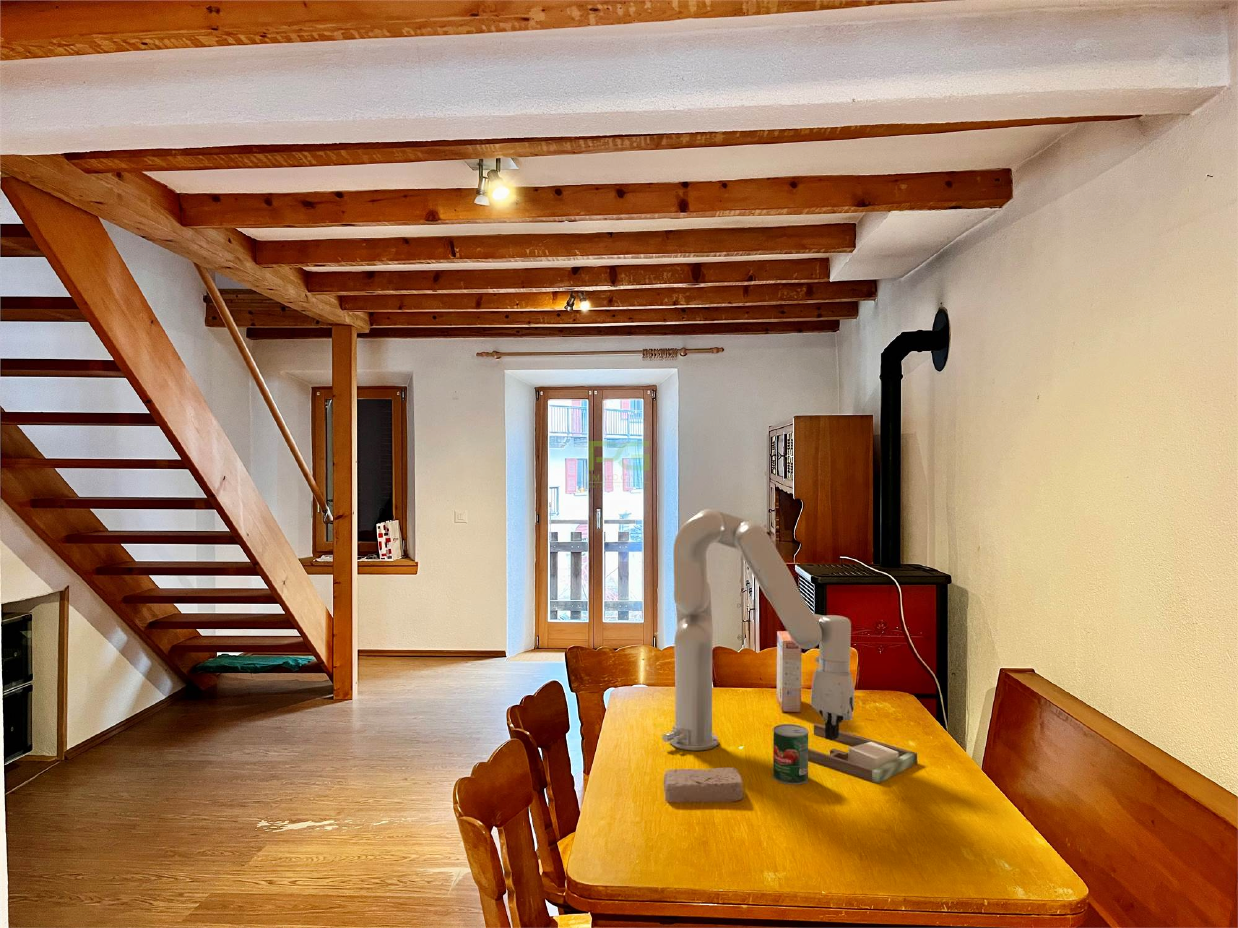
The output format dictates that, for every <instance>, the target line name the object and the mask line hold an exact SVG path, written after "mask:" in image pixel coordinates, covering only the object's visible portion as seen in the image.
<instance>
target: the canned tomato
mask: <svg viewBox="0 0 1238 928" xmlns="http://www.w3.org/2000/svg"><path fill="white" fill-rule="evenodd" d="M772 731H773V734H772V736H773V742H772V743H773V747H772V748H773V749H772V751H773V754H772V755H773V764H772V766H773V767H772V769H773V770H772V771H773V774H772V778H773V779H774V780H775V781H777V783H780V784H785V785H791V786H792V785H793V786H796V785H804V784H806V783H807V782H808V781H809V760H808V748H809V732H810V731H809V730H808V729H807V728H806V727H804V726H801V725H799V724H791V723H785V724H784V723H783V724H778V725H776V726H773V729H772Z"/></svg>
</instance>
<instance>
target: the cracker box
mask: <svg viewBox="0 0 1238 928" xmlns="http://www.w3.org/2000/svg"><path fill="white" fill-rule="evenodd" d="M776 632H777V633H776V634H777V635H776V636H777V637H776V652H777V653H776V700H777V702H778V705H779V708H780V710H781V712H783V713H802V659H803V658H802V657H803V653H802V652H803V651H802V649H803V648H801V647H799V646H797V645H796V644H795V643H794V641H793V640H792V638H791V636H790V635H789V633H788V631H787V630H784V631H782V630H778V631H776Z"/></svg>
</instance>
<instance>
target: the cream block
mask: <svg viewBox="0 0 1238 928" xmlns="http://www.w3.org/2000/svg"><path fill="white" fill-rule="evenodd" d="M847 753H848V761H849V762H852V763H855V764H858V765H861V766H865V767H868V768H871V769H874V770H875V769H877V768H879V767H881V766H883V765H885V764H887V763H889V762H891V761H893V760H895V759H897V758H898V752H897V751H894V750H892V749H889V748H886V747H884V746H881V745H878V744H876V743H873V742H868V743H865V744H861V745H857V746H850V747H848V751H847Z"/></svg>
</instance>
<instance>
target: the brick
mask: <svg viewBox="0 0 1238 928" xmlns="http://www.w3.org/2000/svg"><path fill="white" fill-rule="evenodd" d="M663 791H664V800H665V802H667V803H711V802H712V803H720V802H721V803H729V802H735V801H736V802H737V801H741V800H742V799H743V797H744V787H743V780H742V776H741V775H740V773H739V771H738V769H736V768H735V767H716V768H715V767H713V768H710V769H709V768H708V769H701V768H700V769H699V768H695V769H693V768H681V769H677V768H675V769H667V770H665V772H664V776H663Z"/></svg>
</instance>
